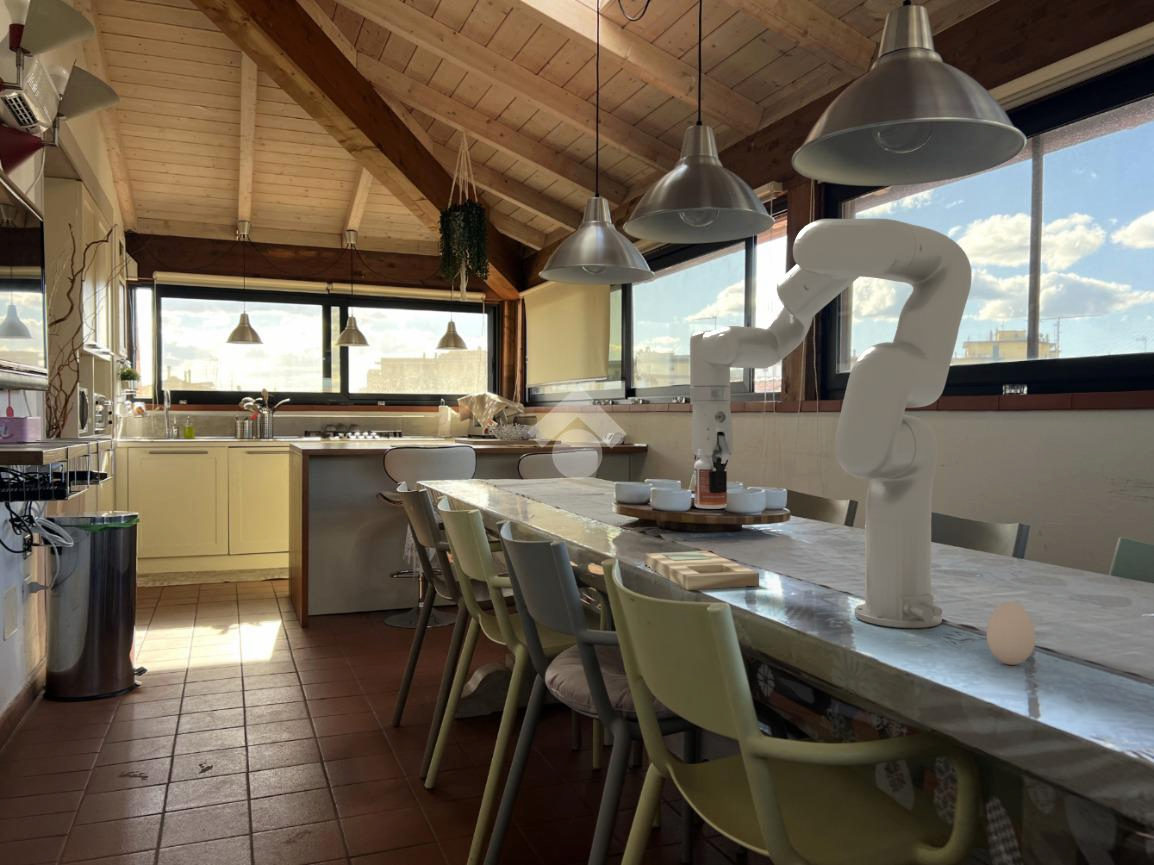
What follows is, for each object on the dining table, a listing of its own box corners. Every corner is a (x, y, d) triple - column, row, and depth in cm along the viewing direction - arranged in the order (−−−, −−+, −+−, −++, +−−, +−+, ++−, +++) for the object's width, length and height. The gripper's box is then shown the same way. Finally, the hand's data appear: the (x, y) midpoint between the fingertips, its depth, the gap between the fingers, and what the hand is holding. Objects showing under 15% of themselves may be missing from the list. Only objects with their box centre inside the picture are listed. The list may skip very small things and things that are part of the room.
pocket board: (759, 586, 154) (759, 571, 154) (687, 590, 151) (687, 575, 151) (706, 562, 180) (706, 549, 179) (644, 565, 176) (644, 552, 176)
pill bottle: (734, 507, 158) (734, 449, 157) (709, 510, 154) (710, 450, 154) (711, 504, 163) (711, 447, 162) (687, 506, 159) (687, 448, 159)
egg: (988, 668, 104) (988, 604, 104) (984, 656, 109) (984, 596, 109) (1038, 672, 102) (1038, 608, 102) (1031, 660, 107) (1031, 599, 107)
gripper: (747, 395, 151) (748, 494, 151) (711, 397, 167) (711, 487, 168) (708, 395, 149) (709, 495, 149) (675, 397, 166) (676, 488, 166)
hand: (710, 490), depth 158 cm, fingers closed on pill bottle, 6 cm apart
